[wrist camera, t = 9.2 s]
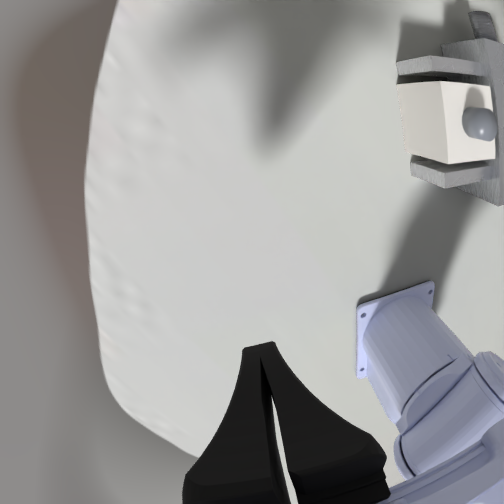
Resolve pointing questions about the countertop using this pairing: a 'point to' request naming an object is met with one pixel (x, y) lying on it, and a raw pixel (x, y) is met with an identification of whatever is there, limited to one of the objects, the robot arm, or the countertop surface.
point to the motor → (500, 81)
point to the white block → (448, 121)
